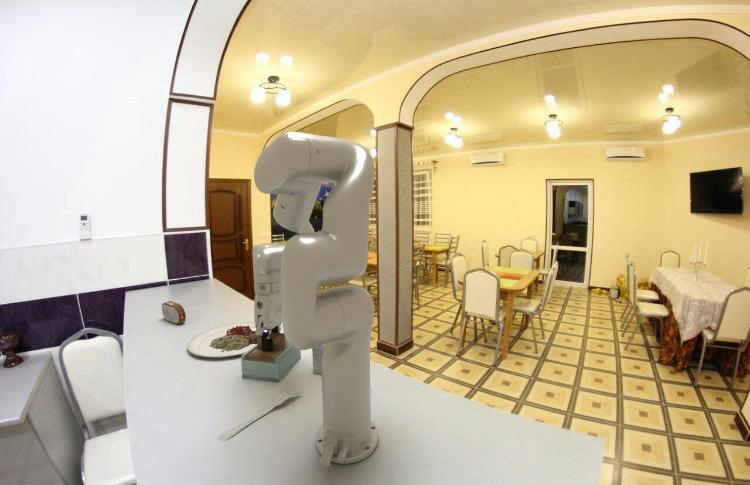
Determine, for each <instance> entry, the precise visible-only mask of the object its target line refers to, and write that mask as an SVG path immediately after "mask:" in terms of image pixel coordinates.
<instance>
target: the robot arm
mask: <svg viewBox="0 0 750 485" xmlns="http://www.w3.org/2000/svg"><path fill="white" fill-rule="evenodd" d="M375 169H376V168H375V163H374V160H373V157H372V155H371V152H370V151H369V150H368V149H367V148H366V147H365V146H363V145H362V144H361V143H358V142H356V141H353V140H349V139H345V138H339V137H335V136H327V135H319V134H313V133H306V132H299V131H287V132H282V133H281V134H280V135H278V136H277V137H276V138H275V139H273V141H272V142H270V144H268V145H267V146H266V147H265V148H264V149H263V151H262V152H261V153H260V155H259V156H258V157H257V159H256V163H255V165H254V169H253V180H254V185H255V187H256V188H257V190H258V191H259V192H260V193H262V194H265V195H267V194H268V195H270V194H271V195H277V196H276V200H275V204H274V207H273V209H272V210H273V212H272V217H273V219H274V220H275V222H276V223H277V224H278V225H279V226H280V227H282V228H284V229H287V230H289V231H290V232H294V233H296V234H295V235H293V236H292V237H290V238H289V239H288V240H287V242H286V243H285V244H277V243H271V242H269V243H268V242H267V243H257V244H256V245H254V246H253V247H252V265H253V267H252V268H253V282H254V283H253V285H254V286H253V288H254V294H255V296H254V304H253V305H254V306H253V320H254V321H253V322H255V327H256V331H255V334H256V335H259V336H260V339H261V343H262V351H264V352H272V351H273V340H272V338H271V332H273V333H281V330H282V329H283V333H284V335H285V338H286V340H287V342H288V343H289V345H290V346H291V347H293V348H294V349H297V350H301V351H306V350H310V349H311V350H312V348H314V347H317V346H320V345H324V344H325V346H324V349H323V353H322V359H321V370H322V373H321V395H322V396H321V398H322V402H321V403H322V425H320V427H319V428H318V431H316V436H315V447H316V449H317V453H318V454H319V455H320V456H321V457H320V458H319V463H320V465H321V466H322V467H325V468H326V467H329V466H330V465H331V462H333V463H335V464H341V465H342V464H343V465H344V464H345V465H347V464H353V463H354V464H355V463H358V462H360V461H362V460H364V459H366V458H368V457H369V456H370V455H372V453H373V452H374V451H375V450H376V448H377V446H378V445H379V437H380V436H379V430H378V427H377V425H376V424H375V423H374V421H373V420H372V419H371V418H372V417H371V407H372V406H371V340H372V331H373V326H374V321H375V314H376V313H375V312H376V310H375V309H376V308H375V302H374V299H373V297H372V295H371V293H370V292H369V291H368V290H367V289H365V287H362V286H360V285H355V284H346V285H338V286H335V287H331V288H325V289H322V290H319V289H320V287H323V286H324V287H325V286H329V285H335V284H340V283H344V282H348V281H353V280H356V279H358V278H360V277H362V276H363V275H364V274H365V273H366V270H367V268H368V261H369V244H370V243H369V242H370V240H369V238H370V207H371V206H370V205H371V200H372V193H373V189H374V184H375V175H376V174H375V172H376V170H375ZM325 183H329V184H330V183H331V184H335V185H334V186H333V187H332V188H331V190H330V191H329V193H328V195H327V196H326V198H325V201H324V203H323V207H322V228H321V230H320V231H315V229H314V227H313V224H311V223H310V218H311V215H312V213H313V209H314V208H315V204H316V201H317V199H318V196H319V193H320V191H321V187H322V185H323V184H325ZM281 325H282V327H281ZM264 326H265V327H264ZM264 330H267V333H266V332H264Z"/></svg>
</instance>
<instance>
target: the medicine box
mask: <svg viewBox="0 0 750 485" xmlns="http://www.w3.org/2000/svg"><path fill="white" fill-rule="evenodd" d="M324 346H325V344H324V345H320V346H317V347H314V348H311V355H312V356H311V357H312V372H313V374H322V370H321V359H322V353H323V349H324Z"/></svg>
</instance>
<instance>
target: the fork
mask: <svg viewBox="0 0 750 485" xmlns="http://www.w3.org/2000/svg"><path fill="white" fill-rule="evenodd" d="M294 397H303V395H302V394H301V393H299V392H295V391H293V392H284V393H281V394H278V395H277V396H276V397H275V398H274V399H273V404H272V406H270V407H269V408H268V409H266V410H265V411H263V412H261V413H259V414H257V415H256V416H253V417H251V418H250V419H247V420H246V421H243V422H241V423H239V424H237V425H235V426H233V427H231V428H229V429H227V430H225V431H224V432H222V433H221V434H220V435H219V436H218V437H217V439H218V440H219V441H220V442H222V443H225V442H226V441H228V440H229V439H230V438H231V439H232V437H234V436H235V435H237V434H238V433H239V432H240V431H242V430H244V429H245V428H247V427H248V426H249V425H251V424H252V423H254V422H255V421H257V420H258V419H260V418H262V417H263V416H265V415H267V414H268V413H269V412H271V411H273V409H275V408H276V407H278V406H280V405H281V404H283V403H284V402H285V401H286V400H288V399H292V398H294Z"/></svg>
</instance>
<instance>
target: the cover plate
mask: <svg viewBox="0 0 750 485" xmlns="http://www.w3.org/2000/svg"><path fill="white" fill-rule="evenodd" d="M266 333H267V332H266ZM271 338H272V340H273V351H272V352H264V351H262V343H261V339H260V336H259V335H258V336H257V348H256V349H255V350H254V351H252V352H251V353H250V354H248V355H247V356H246V360H247V361H257V362H268V363H275V359H276V358H277V357H278V356H279V355H280V354H281V353H282V352H283V351H284V350H285V349H287V348H288V347H289V346H290V345H289V343H288V342H287V340H285V335H284V332H280V333H273V332H271Z"/></svg>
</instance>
